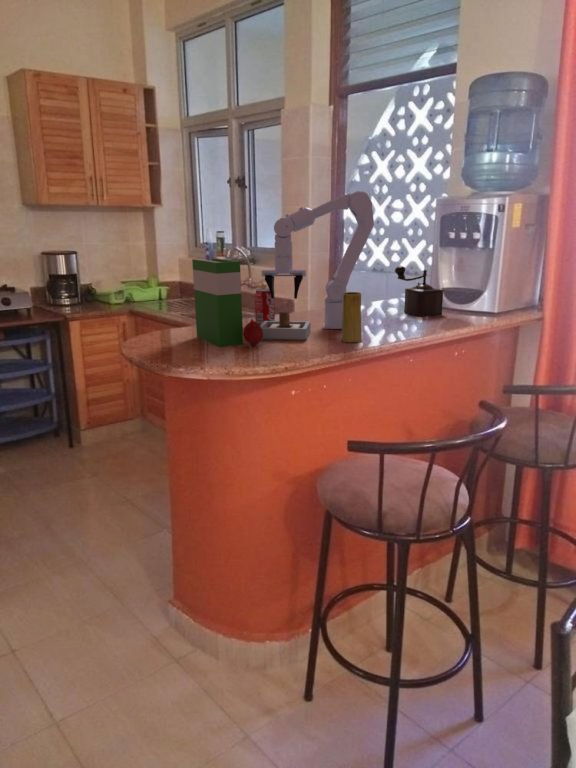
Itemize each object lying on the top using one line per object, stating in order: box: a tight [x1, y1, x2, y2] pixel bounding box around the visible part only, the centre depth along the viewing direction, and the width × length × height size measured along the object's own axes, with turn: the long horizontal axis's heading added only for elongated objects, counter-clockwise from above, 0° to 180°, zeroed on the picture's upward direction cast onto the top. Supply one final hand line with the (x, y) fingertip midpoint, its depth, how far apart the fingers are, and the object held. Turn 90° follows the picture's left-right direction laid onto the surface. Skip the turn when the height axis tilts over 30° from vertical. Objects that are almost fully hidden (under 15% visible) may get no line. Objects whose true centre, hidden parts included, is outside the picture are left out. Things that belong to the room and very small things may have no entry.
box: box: [260, 320, 311, 342], centre depth 177 cm, size 15×13×4 cm
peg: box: [278, 311, 291, 328], centre depth 176 cm, size 3×3×7 cm
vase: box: [340, 291, 363, 343], centre depth 167 cm, size 6×6×14 cm
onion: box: [243, 318, 263, 347], centre depth 163 cm, size 6×6×8 cm
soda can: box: [253, 288, 276, 325], centre depth 197 cm, size 7×7×12 cm
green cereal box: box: [191, 257, 244, 348], centre depth 169 cm, size 18×7×24 cm, turn 31°
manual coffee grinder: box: [394, 265, 444, 318], centre depth 211 cm, size 16×11×18 cm
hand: (284, 298), depth 188 cm, fingers open, 7 cm apart
